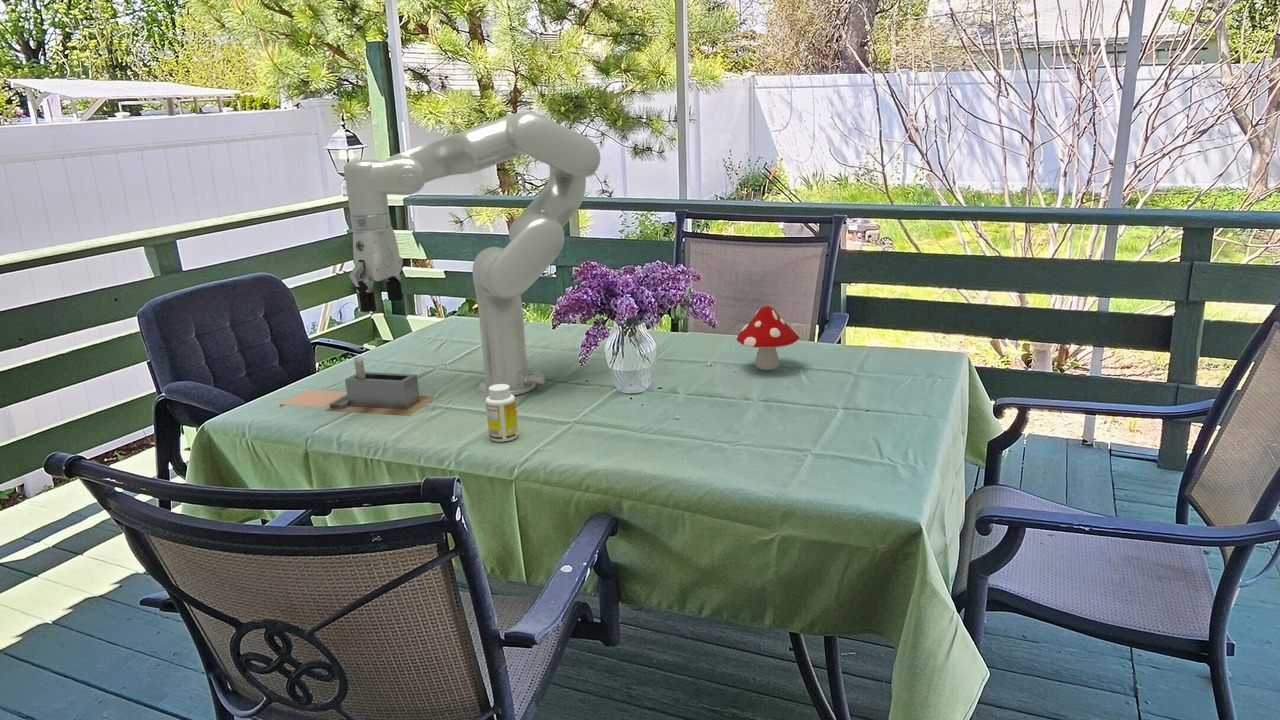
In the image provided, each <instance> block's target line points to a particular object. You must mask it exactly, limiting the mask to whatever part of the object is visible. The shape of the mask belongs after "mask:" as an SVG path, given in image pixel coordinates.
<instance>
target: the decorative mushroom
mask: <svg viewBox="0 0 1280 720" xmlns="http://www.w3.org/2000/svg"><path fill="white" fill-rule="evenodd" d="M799 340H800V336H799V334H798V332H797V331H796V330H794V329H793V328H791V326H789V324H787V323H786V322H785V319H783V318H782V317H781V316H780V315H779V313H778V312H777V311H776V310H775V309H774V307H772V306H771V305H770V306H769V305H765V306H762V307H760V308H759V309H758V310H757V311H756V312H755V314H754V317H753V318H752V319H751V320H750V321H749V322H748V323H747V324H745V325H744V326H743V327H742V329H741V330H740V332H739V333H738V334H737V337H736V341H737V342H738V343H739V344H741V345H743V346H745V347H748V348H756V349H757V348H758V349H757V350H758V351H757V353H756V358H755V361H754V364H755V367H756V368H757V369H759V370H761V371H764V372H765V371H766V372H767V371H769V372H771V371H774V370H776V369H778V368H779V366H780V363H781V362H780V358H779V354H778V351H777V348H782V347H787V346H790V345H792V344H794V343H796V342H797V341H799Z"/></svg>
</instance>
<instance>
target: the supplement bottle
mask: <svg viewBox="0 0 1280 720" xmlns="http://www.w3.org/2000/svg"><path fill="white" fill-rule="evenodd" d="M485 409H486V418H487V427H488V435H489V436H488V437H489V439H490V440H491V441H493V442H497V443H504V442H505V441H506V442H510V441H513V440H515V439H517V438H518V436H519V425H518V417H517V414H518V413H517V407H516V398H515V395H512V394H510V386H509V385H507V384H496V385H492V386H490V387H489V393H488V396H487V397H485Z"/></svg>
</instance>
